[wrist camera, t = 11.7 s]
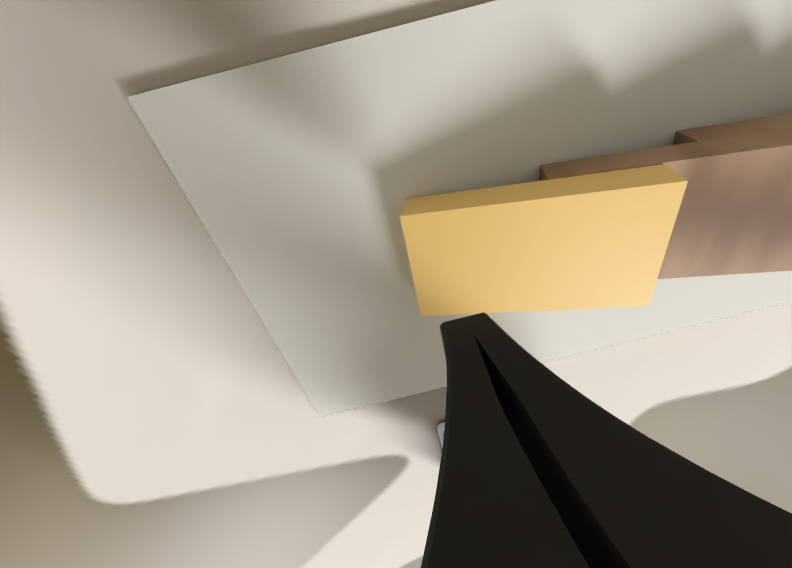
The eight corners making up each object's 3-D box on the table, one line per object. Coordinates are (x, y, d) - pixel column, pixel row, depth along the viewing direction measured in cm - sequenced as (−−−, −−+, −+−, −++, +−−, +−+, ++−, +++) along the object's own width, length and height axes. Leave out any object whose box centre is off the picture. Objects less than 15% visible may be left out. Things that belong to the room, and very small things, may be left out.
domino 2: (535, 266, 16) (762, 249, 14) (541, 286, 15) (792, 270, 13) (540, 165, 13) (827, 122, 11) (548, 178, 12) (873, 133, 10)
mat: (831, 287, 20) (839, 291, 20) (319, 411, 21) (319, 417, 21) (1149, -171, 10) (1177, -179, 10) (132, 95, 11) (126, 97, 10)
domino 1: (424, 294, 16) (632, 281, 14) (420, 316, 15) (648, 306, 13) (405, 199, 13) (662, 164, 11) (399, 216, 12) (687, 180, 10)
